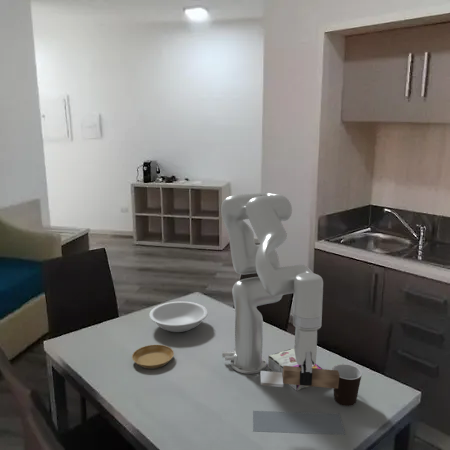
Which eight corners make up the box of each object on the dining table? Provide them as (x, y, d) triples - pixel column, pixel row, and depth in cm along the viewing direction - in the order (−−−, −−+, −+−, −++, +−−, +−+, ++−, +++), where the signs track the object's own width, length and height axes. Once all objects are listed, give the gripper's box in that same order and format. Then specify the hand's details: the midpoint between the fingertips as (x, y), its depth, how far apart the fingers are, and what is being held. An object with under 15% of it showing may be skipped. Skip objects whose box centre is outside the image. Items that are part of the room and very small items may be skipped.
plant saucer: (132, 374, 152) (132, 367, 152) (131, 353, 166) (131, 346, 166) (176, 369, 156) (176, 362, 155) (171, 349, 170) (171, 342, 169)
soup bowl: (159, 313, 200) (158, 299, 199) (212, 316, 197) (212, 302, 195) (142, 338, 177) (141, 323, 176) (202, 342, 174) (201, 327, 172)
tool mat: (253, 432, 123) (253, 431, 123) (253, 412, 132) (253, 410, 132) (345, 436, 122) (345, 434, 122) (339, 415, 131) (339, 413, 131)
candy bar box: (323, 383, 147) (293, 359, 161) (324, 369, 146) (294, 347, 160) (295, 392, 142) (267, 367, 156) (296, 378, 141) (267, 354, 155)
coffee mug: (354, 413, 132) (357, 382, 129) (326, 403, 136) (328, 374, 134) (365, 393, 141) (367, 364, 139) (338, 385, 146) (340, 357, 143)
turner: (260, 385, 121) (262, 371, 121) (260, 373, 127) (261, 360, 126) (339, 392, 121) (340, 378, 120) (335, 380, 126) (336, 367, 126)
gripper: (290, 307, 128) (288, 366, 132) (295, 332, 112) (293, 398, 116) (317, 307, 127) (314, 366, 131) (326, 333, 112) (323, 399, 116)
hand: (305, 381), depth 124 cm, fingers closed on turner, 2 cm apart
